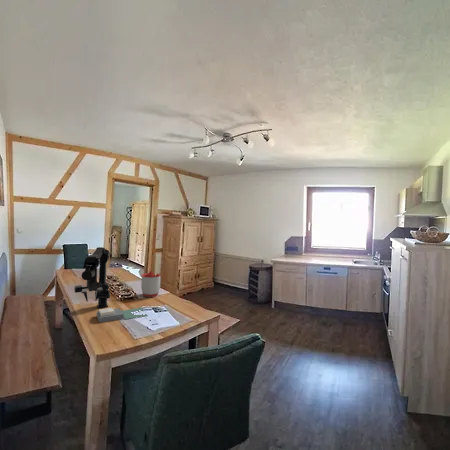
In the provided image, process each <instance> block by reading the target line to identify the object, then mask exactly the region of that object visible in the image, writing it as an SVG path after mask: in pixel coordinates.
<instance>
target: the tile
mask: <svg viewBox="0 0 450 450" xmlns="http://www.w3.org/2000/svg"><path fill="white" fill-rule="evenodd" d="M114 309H115V308H113V307H105V308H98V311H99V314H100V316H105V315H112V314H114Z"/></svg>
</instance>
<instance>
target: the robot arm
mask: <svg viewBox="0 0 450 450" xmlns="http://www.w3.org/2000/svg"><path fill="white" fill-rule="evenodd" d="M110 258H111V252H110V250H108V249H106V248H105V247H102V246H101V247H96V249H95V250H94V252H93V253H92V254H89V255H88V256H86V257H85V259H84V262H83V266H82V269H84V270H83V272H82V273H81V276H80V277H81V279H82V280H84V281H86V286H82V285H74V288H73V290H74V293H76V294H77V293H81V294H83V296H84V298H85V301H86V302H87V303H88V302H89V301H88V292H94V295H95V297H94V298H95V299H94V300H95V302H97V301H98V302H97V305H96V306H97V308H98V309H104V308H109V305H108V299H110V298H111V293H110V290H109V284H108V283H107V264H108V262H109V260H110ZM98 267H99V270H98ZM98 272H99V274H98ZM87 291H88V292H87Z"/></svg>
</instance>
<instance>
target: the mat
mask: <svg viewBox="0 0 450 450" xmlns="http://www.w3.org/2000/svg"><path fill="white" fill-rule="evenodd" d="M137 310H143V308H141V307H138V308H131V309H125V310H121V311H122V313H123V319H125V320H131V318H132V319H137V318H136V317H138V318H142V317H141V316H144V317H148V314H147V313H146V314H145V315H143V314H142V315H134V314H132V313H131V312H133V311H137Z"/></svg>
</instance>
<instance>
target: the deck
mask: <svg viewBox="0 0 450 450" xmlns="http://www.w3.org/2000/svg"><path fill="white" fill-rule="evenodd" d="M113 309H114V314H112V315H105V316H100V314H99V310H98V311H96V318H97V321H98V323H99V324H100V323H105V322H111V321H117V320H118V321H119V320H124V316H123V313H122V311H123V310H121V308H113Z"/></svg>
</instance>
